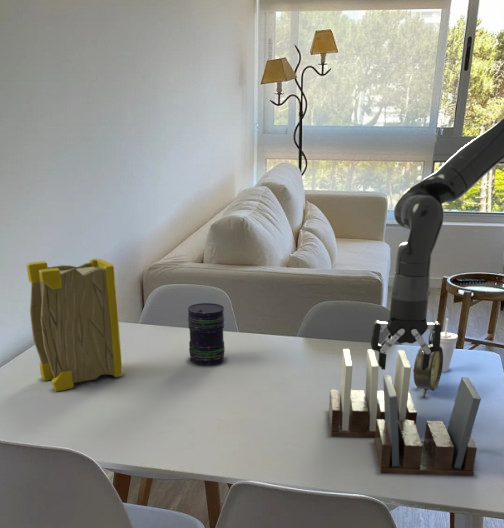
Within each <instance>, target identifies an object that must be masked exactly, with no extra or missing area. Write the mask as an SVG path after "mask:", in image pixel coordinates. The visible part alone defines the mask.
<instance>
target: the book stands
mask: <svg viewBox="0 0 504 528" xmlns="http://www.w3.org/2000/svg"><path fill="white" fill-rule="evenodd" d="M328 403H329V404H328V406H329V407H328V418H329V419H328V420H329V429H330V437H336V438H337V437H339V438H341V437H342V438H374V440H373V446H374V450H375V455H376V459H377V464H378V468H379V473H380V474H389V475H390V474H392V475H393V474H394V475H420V476H421V475H424V476H428V475H429V476H454V477H455V476H456V477H457V476H458V477H474V474H475V471H474V469H475V462H476V456H477V450H478V447H477V444H476V443H475V441H474V439H473V437H472V435H471V436H470V439H469V442H468V446H467V449H466V453H465V456H464V460H463V463H462V467H461V469H459V468H454V467H453V464H452V460H453V453H454V445H453V443H452V441H451V439H450V436H449V434H448V432H447V429H448V428H447V427H446V425H445V422H444V421H443V420H426V422H425V430H424V437H423V440H421V437H420V434H419V432H418V431H419V430H418V428H417V417H418V411H417V409H416V406H415V403H414V401H413V398H412V395H411V392H410V391H408V400H407V410H406V419H405V420H398V445H399V466H395V467H392V464H391V460H390V455H391V442H390V438H389V434H388V431H387V427H386V423H385V407H384V390H378V391H377V415H376V431H369V427H368V407H367V402H366V392H365V390H364V389H351V396H350V410H349V425H348V431H342V429H341V421H340V405H339V404H340V396H339V391H338V389H335V388H334V389H332V388H331V389H329V402H328Z"/></svg>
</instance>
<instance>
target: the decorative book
mask: <svg viewBox="0 0 504 528" xmlns="http://www.w3.org/2000/svg"><path fill="white" fill-rule="evenodd" d="M26 271H27V277H28V282H29V283H31V284H30V285H31V286H30V307H29V315H30V316H29V317H30V324H31V332H32V333H31V334H32V340H33V343H34V346H35V349H36V351H37V354H38V357H39V361H40V362H39V370H40V371H39V372H40V376H41V380H43V381H45V382H46V381H50V382H51V386H52V387H53V389H54V391H55V392H61V391H66V390H71V389H74V388H75V386H74V384H75V383H81V382H86V381H94V380H96V379H98V378H99V377H100V376H102V375H110V376H112V377H114V378H118V377H121V376H123V365H122V364H123V363H122V349H121V335H120V334H121V333H120V321H119V310H118V309H119V308H118V299H117V297H118V296H117V285H116V274H115V264H113V263H111V262H109V261H106V260H104V259H102V258H92V259H89V262H84V263H83V264H80V265H78V266H74V265H70V264H68V265H66V264H61V265H60V264H59V265H54V266H48V263H47V262H46V261H45V260H44V261H43V260H42V261H34V262H27V263H26Z"/></svg>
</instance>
